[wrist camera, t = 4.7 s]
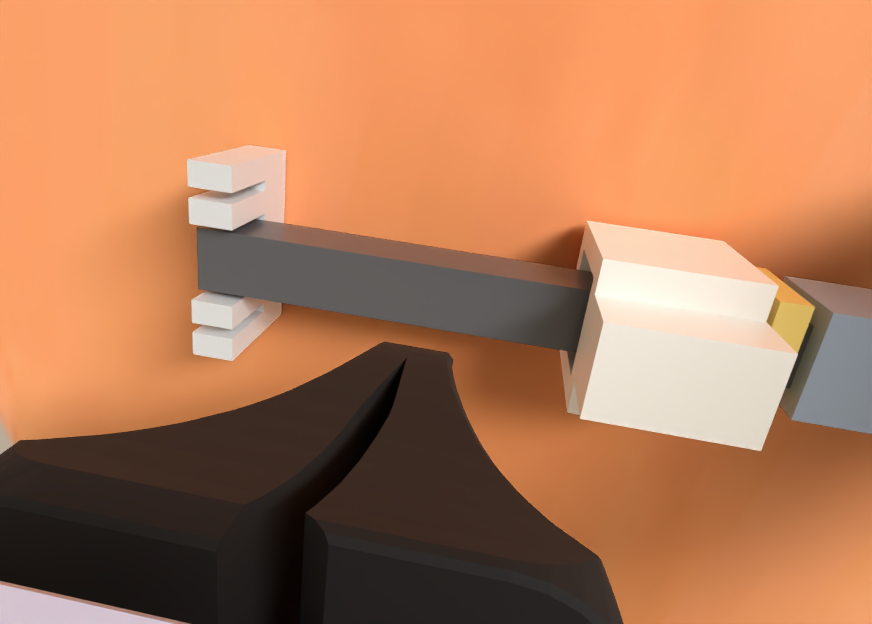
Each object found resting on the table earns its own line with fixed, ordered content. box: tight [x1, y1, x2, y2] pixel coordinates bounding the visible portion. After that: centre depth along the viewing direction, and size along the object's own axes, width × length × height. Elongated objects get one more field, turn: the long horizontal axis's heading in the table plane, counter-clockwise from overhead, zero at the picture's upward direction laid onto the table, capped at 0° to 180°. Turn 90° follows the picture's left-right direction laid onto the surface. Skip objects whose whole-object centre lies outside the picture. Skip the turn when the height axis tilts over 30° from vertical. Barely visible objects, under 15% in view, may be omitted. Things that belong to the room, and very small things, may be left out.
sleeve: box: [560, 221, 798, 451], centre depth 16 cm, size 4×4×6 cm
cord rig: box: [187, 145, 872, 434], centre depth 17 cm, size 19×6×4 cm, turn 83°
